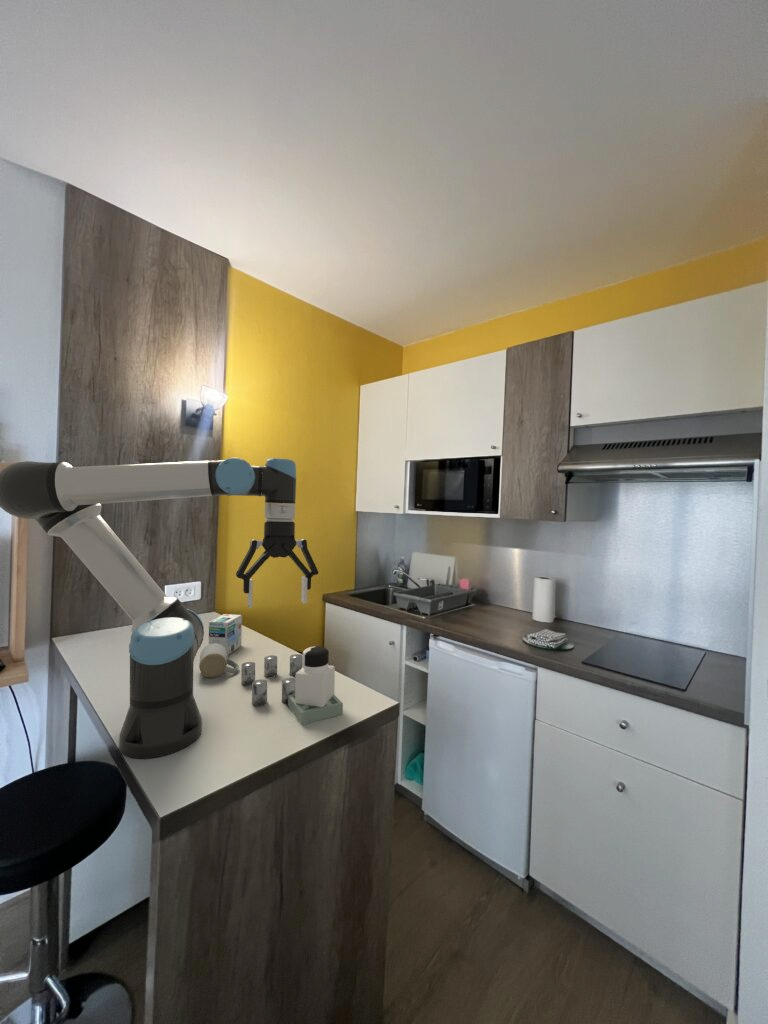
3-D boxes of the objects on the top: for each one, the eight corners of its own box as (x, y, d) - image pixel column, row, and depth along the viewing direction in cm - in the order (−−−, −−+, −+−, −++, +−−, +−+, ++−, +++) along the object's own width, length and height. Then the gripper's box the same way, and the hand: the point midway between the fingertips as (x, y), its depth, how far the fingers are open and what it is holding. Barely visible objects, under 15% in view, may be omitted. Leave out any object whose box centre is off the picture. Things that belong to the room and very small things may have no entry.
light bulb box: (227, 656, 135) (227, 622, 135) (207, 655, 136) (207, 621, 136) (242, 645, 146) (242, 614, 145) (223, 644, 146) (224, 613, 146)
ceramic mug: (198, 681, 115) (199, 653, 115) (199, 670, 123) (200, 644, 123) (239, 676, 119) (240, 649, 119) (237, 666, 127) (238, 640, 127)
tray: (301, 724, 93) (301, 713, 93) (288, 705, 102) (288, 695, 102) (342, 714, 98) (342, 703, 98) (326, 697, 107) (326, 687, 107)
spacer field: (255, 711, 99) (255, 690, 99) (238, 678, 117) (238, 660, 117) (323, 696, 107) (324, 677, 107) (297, 667, 126) (297, 651, 126)
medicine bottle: (334, 694, 102) (335, 645, 102) (323, 708, 95) (323, 655, 95) (308, 691, 104) (308, 642, 104) (294, 703, 97) (295, 652, 97)
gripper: (229, 520, 97) (226, 611, 98) (331, 521, 108) (329, 603, 109) (225, 519, 104) (223, 604, 104) (322, 520, 115) (320, 597, 115)
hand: (277, 604), depth 106 cm, fingers open, 13 cm apart
